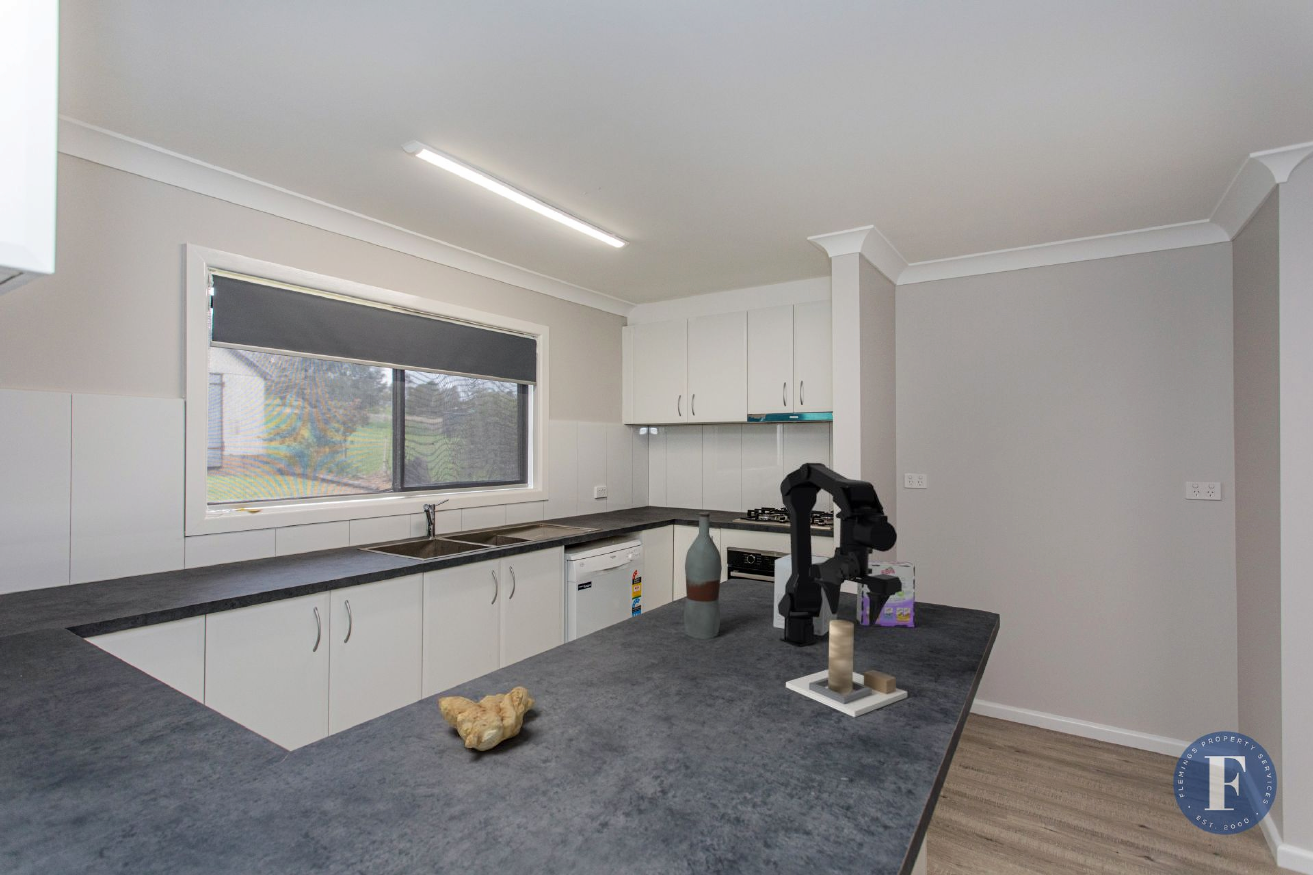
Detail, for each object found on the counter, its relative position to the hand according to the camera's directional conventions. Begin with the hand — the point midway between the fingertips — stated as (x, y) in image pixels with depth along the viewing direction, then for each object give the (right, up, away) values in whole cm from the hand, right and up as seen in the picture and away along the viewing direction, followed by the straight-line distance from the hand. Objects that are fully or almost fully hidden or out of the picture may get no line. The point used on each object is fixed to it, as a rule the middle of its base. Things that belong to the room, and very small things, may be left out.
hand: (852, 619), depth 130 cm
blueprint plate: (-4, -12, -7) cm, 14 cm away
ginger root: (-67, -11, -29) cm, 73 cm away
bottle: (-29, -12, +27) cm, 41 cm away
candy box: (+21, -13, +40) cm, 47 cm away
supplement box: (-1, -12, +37) cm, 39 cm away
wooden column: (-5, -11, -10) cm, 16 cm away
